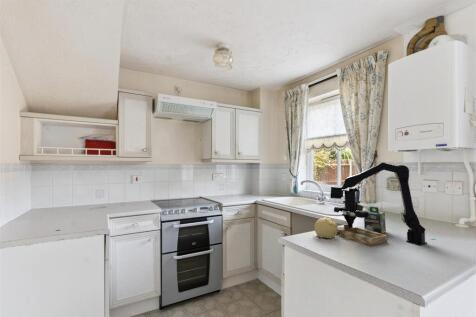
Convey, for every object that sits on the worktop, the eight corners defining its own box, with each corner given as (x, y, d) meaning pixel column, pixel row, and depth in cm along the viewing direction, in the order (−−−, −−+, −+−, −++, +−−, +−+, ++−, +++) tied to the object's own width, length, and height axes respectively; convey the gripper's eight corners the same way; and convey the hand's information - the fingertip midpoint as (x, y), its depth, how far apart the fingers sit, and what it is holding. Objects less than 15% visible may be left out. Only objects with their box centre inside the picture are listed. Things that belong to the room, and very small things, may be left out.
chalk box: (386, 231, 140) (385, 206, 140) (381, 235, 133) (380, 208, 134) (369, 228, 146) (368, 204, 147) (363, 231, 140) (363, 206, 140)
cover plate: (356, 229, 135) (355, 223, 136) (346, 232, 130) (345, 225, 130) (332, 228, 147) (331, 222, 148) (323, 230, 142) (322, 224, 142)
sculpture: (340, 240, 124) (339, 220, 124) (316, 239, 126) (315, 219, 127) (335, 234, 135) (335, 215, 135) (313, 233, 138) (313, 214, 138)
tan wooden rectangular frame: (387, 242, 121) (387, 235, 121) (370, 246, 115) (370, 239, 115) (356, 233, 137) (356, 227, 137) (340, 236, 131) (340, 229, 131)
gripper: (375, 200, 128) (375, 229, 128) (346, 196, 145) (346, 222, 145) (361, 202, 123) (362, 232, 123) (332, 197, 140) (333, 224, 140)
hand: (350, 227), depth 133 cm, fingers closed
